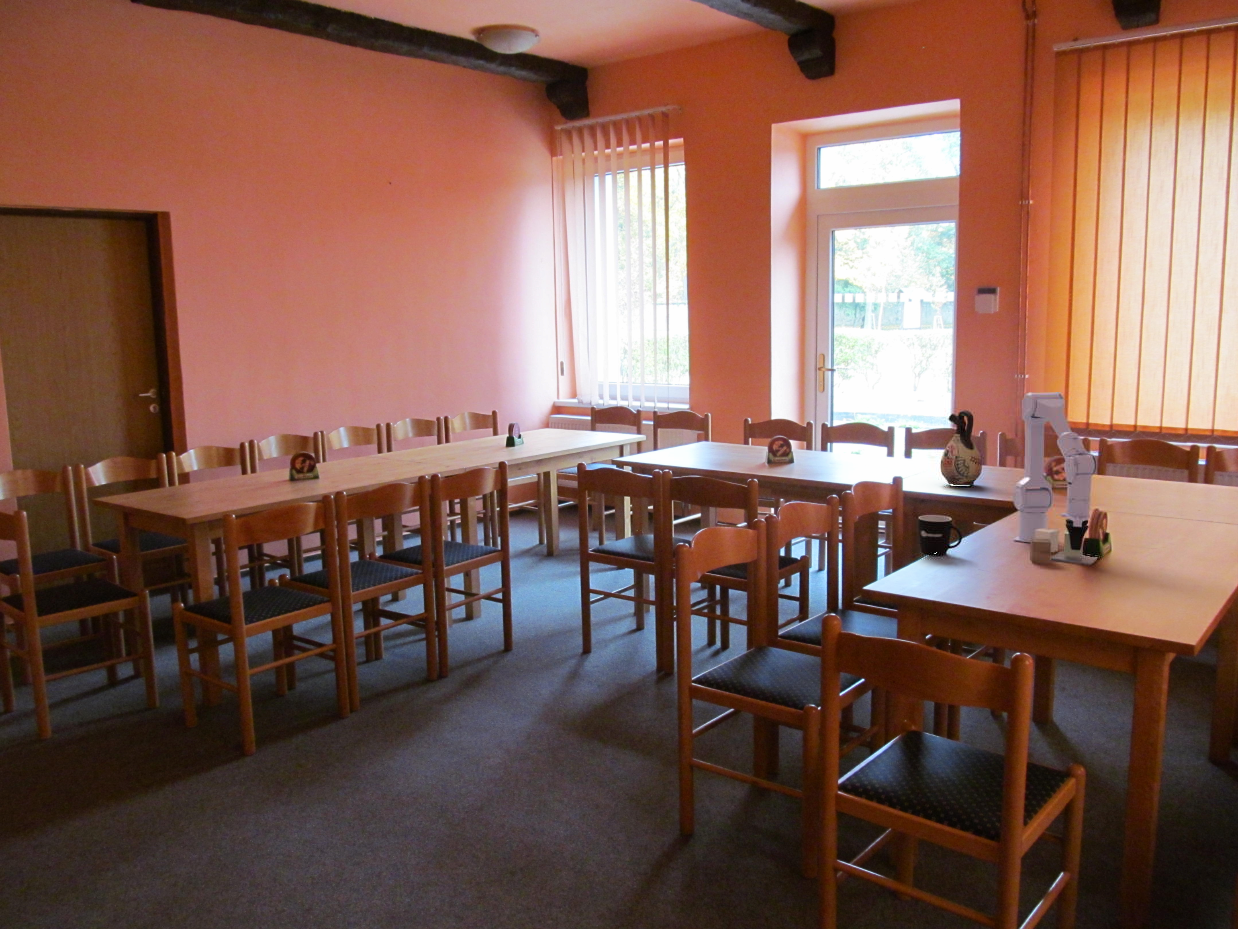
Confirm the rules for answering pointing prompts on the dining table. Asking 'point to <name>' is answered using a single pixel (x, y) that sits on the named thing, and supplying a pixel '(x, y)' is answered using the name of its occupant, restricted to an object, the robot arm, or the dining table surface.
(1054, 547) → the cream block
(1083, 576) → the dining table surface
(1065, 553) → the green block
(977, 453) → the ceramic jug
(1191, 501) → the dining table surface
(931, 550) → the mug
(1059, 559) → the coaster
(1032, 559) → the walnut block
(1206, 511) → the dining table surface
